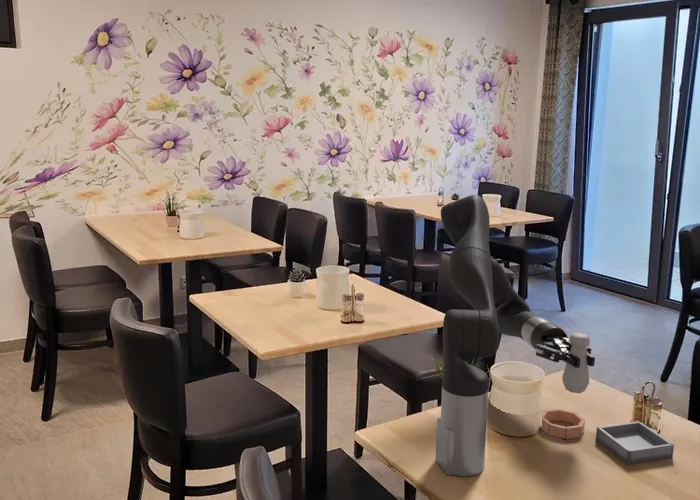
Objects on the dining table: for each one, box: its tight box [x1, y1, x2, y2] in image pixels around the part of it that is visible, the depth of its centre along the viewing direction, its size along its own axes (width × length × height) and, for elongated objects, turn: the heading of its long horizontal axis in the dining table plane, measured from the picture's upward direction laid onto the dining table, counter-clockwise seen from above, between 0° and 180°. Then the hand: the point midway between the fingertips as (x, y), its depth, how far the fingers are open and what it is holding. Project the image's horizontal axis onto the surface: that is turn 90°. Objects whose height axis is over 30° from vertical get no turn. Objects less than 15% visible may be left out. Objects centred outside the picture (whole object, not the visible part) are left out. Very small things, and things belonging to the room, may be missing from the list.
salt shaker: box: [561, 332, 591, 394], centre depth 151 cm, size 6×6×13 cm
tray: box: [595, 421, 675, 465], centre depth 147 cm, size 11×11×3 cm
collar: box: [540, 408, 586, 440], centre depth 156 cm, size 9×9×2 cm
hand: (585, 362), depth 149 cm, fingers closed on salt shaker, 3 cm apart
